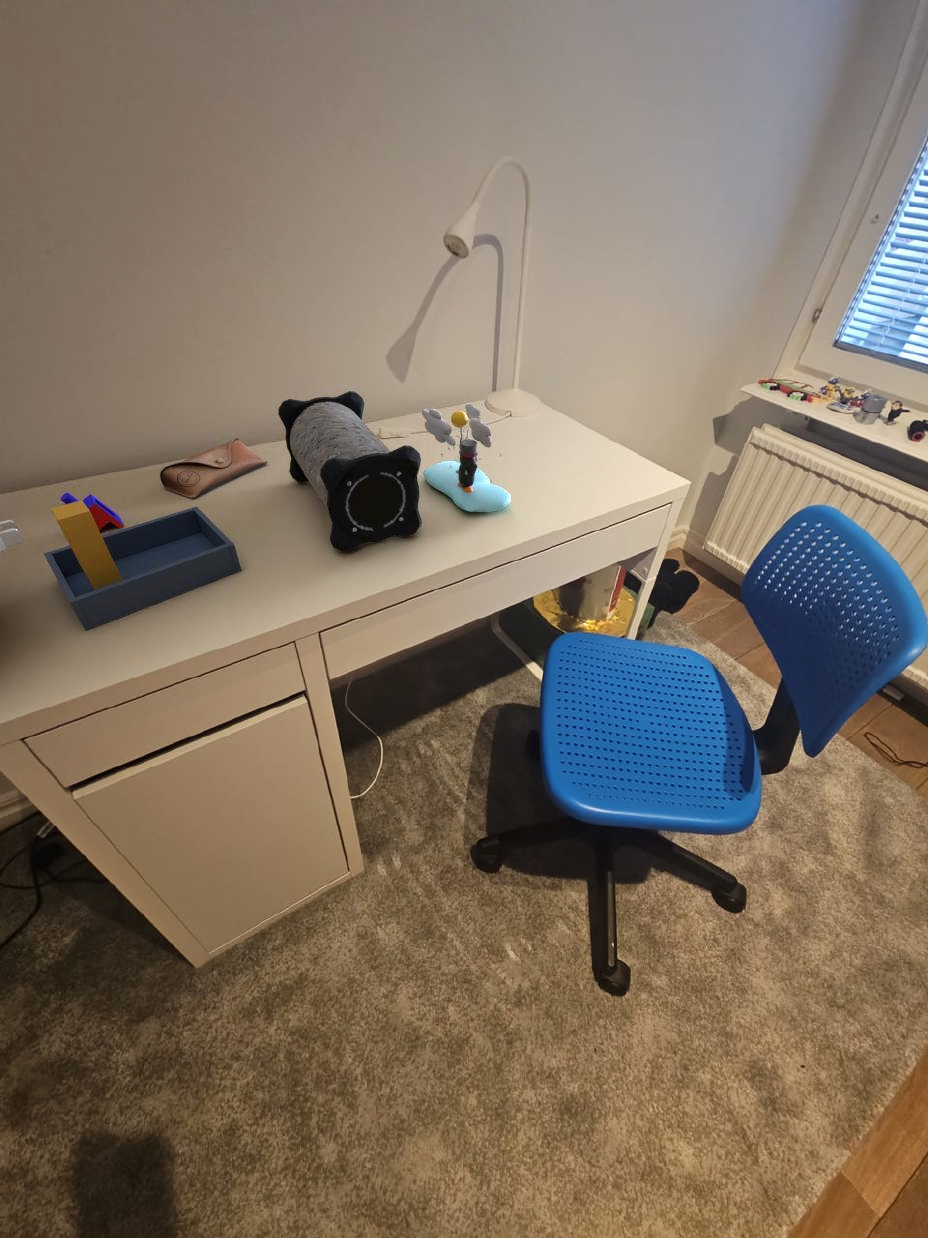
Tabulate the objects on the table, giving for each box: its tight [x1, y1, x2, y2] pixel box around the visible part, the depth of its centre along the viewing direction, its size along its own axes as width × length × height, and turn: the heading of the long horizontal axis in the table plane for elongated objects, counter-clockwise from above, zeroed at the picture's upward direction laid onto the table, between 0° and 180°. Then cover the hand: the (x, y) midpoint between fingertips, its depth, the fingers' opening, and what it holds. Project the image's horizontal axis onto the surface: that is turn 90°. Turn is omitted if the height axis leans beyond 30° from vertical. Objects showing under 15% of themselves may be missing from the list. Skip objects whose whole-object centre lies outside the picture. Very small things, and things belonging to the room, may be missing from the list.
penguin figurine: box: [421, 403, 512, 513], centre depth 94 cm, size 20×11×15 cm, turn 30°
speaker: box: [277, 390, 423, 553], centre depth 89 cm, size 15×28×15 cm, turn 27°
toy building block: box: [59, 492, 124, 531], centre depth 84 cm, size 4×4×8 cm
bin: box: [43, 506, 242, 631], centre depth 76 cm, size 21×14×5 cm, turn 132°
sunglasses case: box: [159, 437, 268, 499], centre depth 100 cm, size 18×7×7 cm
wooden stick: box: [50, 499, 123, 590], centre depth 70 cm, size 4×4×12 cm
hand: (18, 530), depth 64 cm, fingers closed
